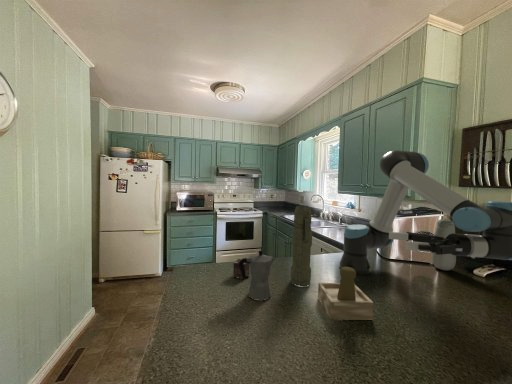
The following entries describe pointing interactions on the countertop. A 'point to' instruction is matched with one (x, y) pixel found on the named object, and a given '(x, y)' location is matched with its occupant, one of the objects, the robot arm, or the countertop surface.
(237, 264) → the box
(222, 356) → the countertop surface
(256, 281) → the coffeepot
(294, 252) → the thermos
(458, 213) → the robot arm
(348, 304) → the oak stand
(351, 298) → the cork
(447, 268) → the grey rounded cylinder
